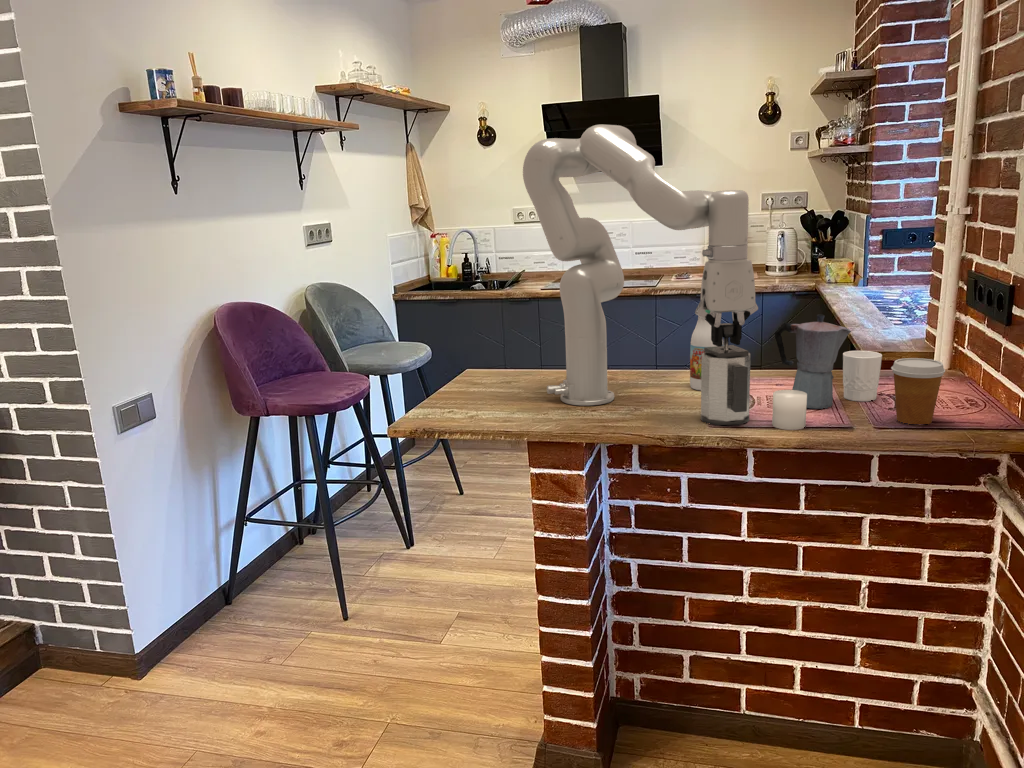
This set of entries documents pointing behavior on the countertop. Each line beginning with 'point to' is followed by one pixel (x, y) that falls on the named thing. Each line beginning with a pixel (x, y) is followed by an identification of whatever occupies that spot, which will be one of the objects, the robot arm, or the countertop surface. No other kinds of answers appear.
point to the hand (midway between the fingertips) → (726, 343)
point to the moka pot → (814, 358)
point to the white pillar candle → (789, 409)
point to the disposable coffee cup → (916, 389)
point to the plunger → (727, 333)
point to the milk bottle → (699, 350)
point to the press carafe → (725, 385)
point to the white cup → (861, 375)
